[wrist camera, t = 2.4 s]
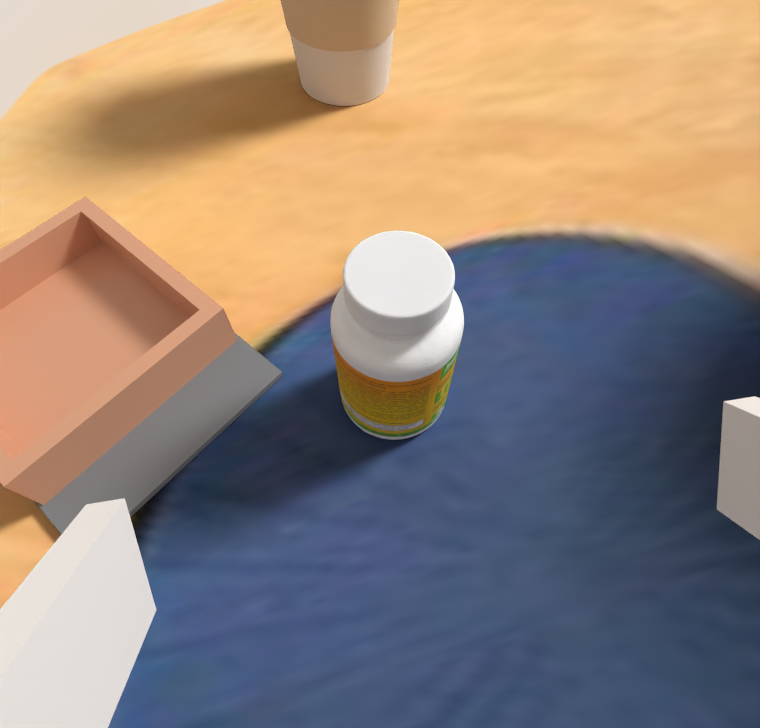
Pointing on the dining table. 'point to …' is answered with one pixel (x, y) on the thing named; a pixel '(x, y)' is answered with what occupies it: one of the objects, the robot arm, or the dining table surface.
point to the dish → (90, 344)
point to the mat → (169, 435)
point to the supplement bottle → (396, 333)
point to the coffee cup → (342, 47)
